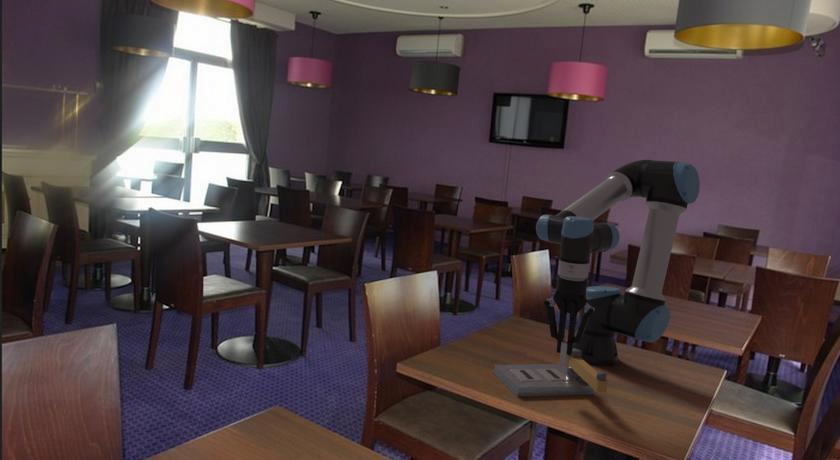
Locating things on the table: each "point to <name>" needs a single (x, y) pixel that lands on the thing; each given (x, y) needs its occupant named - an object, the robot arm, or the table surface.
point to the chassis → (542, 380)
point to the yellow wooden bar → (588, 372)
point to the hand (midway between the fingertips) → (562, 365)
